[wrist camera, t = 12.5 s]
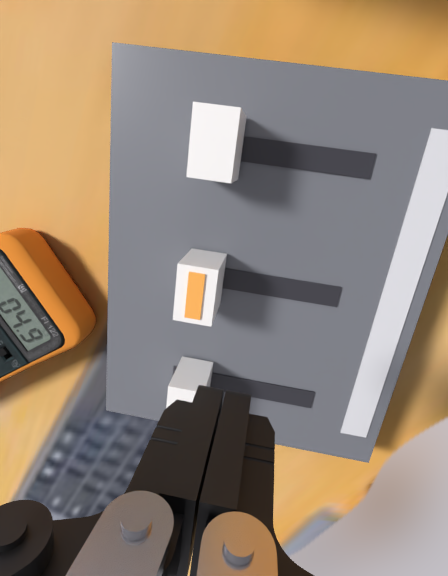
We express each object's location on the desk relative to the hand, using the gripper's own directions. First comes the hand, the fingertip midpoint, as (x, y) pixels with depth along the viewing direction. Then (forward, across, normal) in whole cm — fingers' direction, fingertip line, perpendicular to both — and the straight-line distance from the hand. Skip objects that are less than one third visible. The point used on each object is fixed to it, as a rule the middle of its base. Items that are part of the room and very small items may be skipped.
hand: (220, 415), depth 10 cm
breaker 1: (+11, +3, +7) cm, 13 cm away
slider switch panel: (+14, 0, 0) cm, 14 cm away
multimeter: (+14, +20, +8) cm, 26 cm away
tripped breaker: (+11, +3, 0) cm, 11 cm away
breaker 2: (+11, +2, -7) cm, 13 cm away
